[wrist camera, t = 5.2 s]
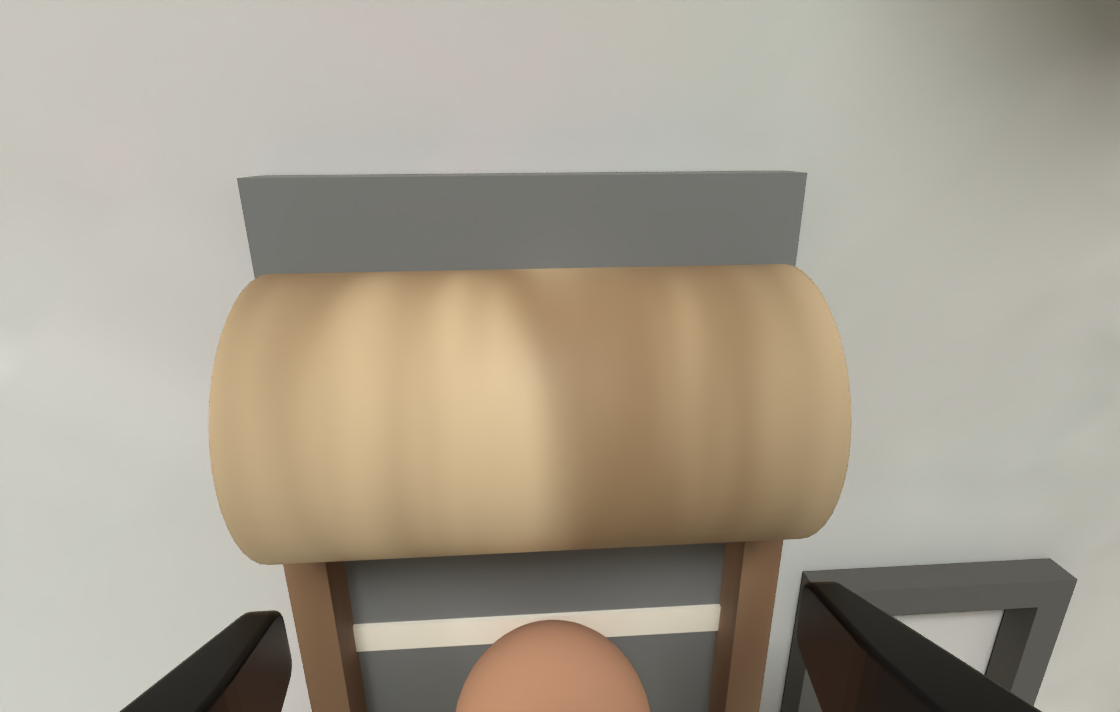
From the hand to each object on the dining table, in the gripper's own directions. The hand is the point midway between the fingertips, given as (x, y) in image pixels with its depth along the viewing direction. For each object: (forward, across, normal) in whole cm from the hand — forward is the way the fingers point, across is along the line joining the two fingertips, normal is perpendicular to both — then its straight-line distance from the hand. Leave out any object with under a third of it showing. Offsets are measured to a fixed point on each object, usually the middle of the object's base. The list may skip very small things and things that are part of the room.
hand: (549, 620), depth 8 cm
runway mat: (+6, 0, +2) cm, 6 cm away
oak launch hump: (+6, 0, -2) cm, 6 cm away
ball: (0, 0, +5) cm, 5 cm away
